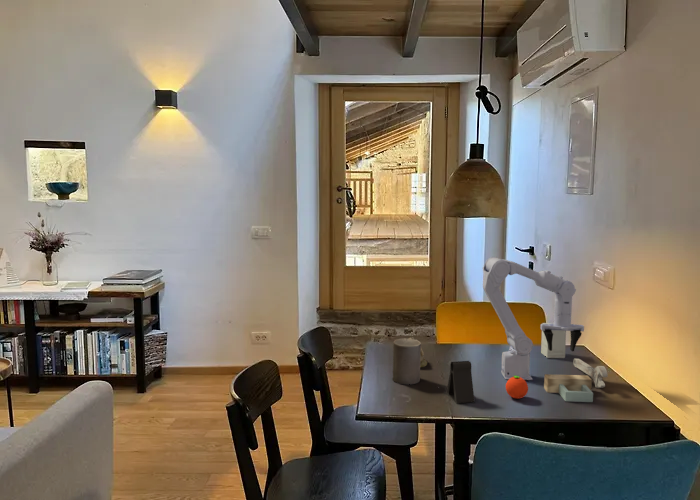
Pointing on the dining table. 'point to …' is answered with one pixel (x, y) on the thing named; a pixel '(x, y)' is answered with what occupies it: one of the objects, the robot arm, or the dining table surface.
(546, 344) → the supplement box
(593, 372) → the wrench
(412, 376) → the pillar candle
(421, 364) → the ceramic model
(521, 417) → the dining table surface
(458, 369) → the phone stand
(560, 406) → the dining table surface
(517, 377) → the clementine
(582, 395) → the bracket
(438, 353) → the dining table surface
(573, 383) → the tan rectangular block
